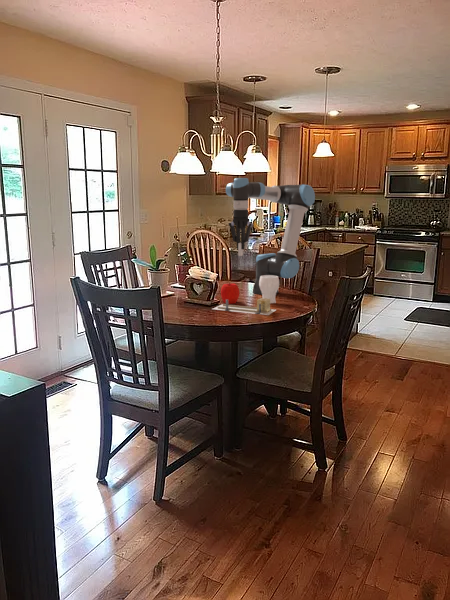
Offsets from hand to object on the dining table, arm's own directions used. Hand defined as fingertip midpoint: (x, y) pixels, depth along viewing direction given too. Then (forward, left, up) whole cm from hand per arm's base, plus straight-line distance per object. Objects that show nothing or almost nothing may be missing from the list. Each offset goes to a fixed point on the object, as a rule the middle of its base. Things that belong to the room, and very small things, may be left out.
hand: (240, 255), depth 261 cm
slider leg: (+15, +18, -25) cm, 35 cm away
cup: (-8, +13, -27) cm, 31 cm away
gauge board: (+14, +8, -26) cm, 31 cm away
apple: (+2, -5, -27) cm, 27 cm away
